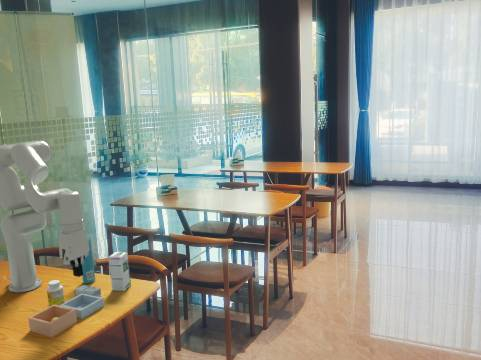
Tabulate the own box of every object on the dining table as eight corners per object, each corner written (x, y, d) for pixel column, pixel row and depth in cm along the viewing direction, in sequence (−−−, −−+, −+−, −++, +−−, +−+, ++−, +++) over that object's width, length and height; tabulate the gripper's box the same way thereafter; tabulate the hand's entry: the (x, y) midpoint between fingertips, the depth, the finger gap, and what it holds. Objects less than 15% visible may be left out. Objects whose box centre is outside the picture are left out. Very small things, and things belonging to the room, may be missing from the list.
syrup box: (125, 291, 184) (121, 256, 181) (111, 290, 185) (107, 256, 183) (131, 285, 190) (128, 251, 187) (118, 284, 191) (114, 251, 188)
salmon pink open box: (30, 333, 154) (28, 317, 153) (55, 318, 164) (53, 304, 163) (52, 339, 150) (50, 323, 149) (77, 324, 159) (75, 309, 158)
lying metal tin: (76, 298, 180) (75, 289, 179) (83, 294, 184) (82, 285, 183) (94, 301, 176) (93, 292, 175) (101, 297, 180) (100, 288, 179)
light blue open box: (61, 315, 166) (59, 305, 165) (83, 303, 175) (81, 293, 174) (82, 321, 161) (81, 310, 160) (104, 308, 170) (103, 297, 169)
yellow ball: (49, 327, 156) (48, 319, 155) (56, 323, 159) (55, 315, 158) (55, 329, 155) (54, 320, 154) (62, 324, 157) (61, 316, 157)
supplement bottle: (49, 306, 174) (45, 280, 172) (64, 303, 176) (61, 277, 174) (49, 312, 169) (45, 286, 167) (65, 309, 171) (62, 283, 169)
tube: (90, 277, 200) (85, 235, 196) (99, 278, 198) (94, 236, 195) (78, 284, 193) (73, 240, 190) (87, 285, 191) (82, 241, 188)
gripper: (80, 220, 170) (86, 266, 173) (47, 231, 157) (54, 282, 160) (95, 221, 167) (101, 269, 170) (63, 233, 154) (69, 285, 157)
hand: (78, 275), depth 165 cm, fingers closed
